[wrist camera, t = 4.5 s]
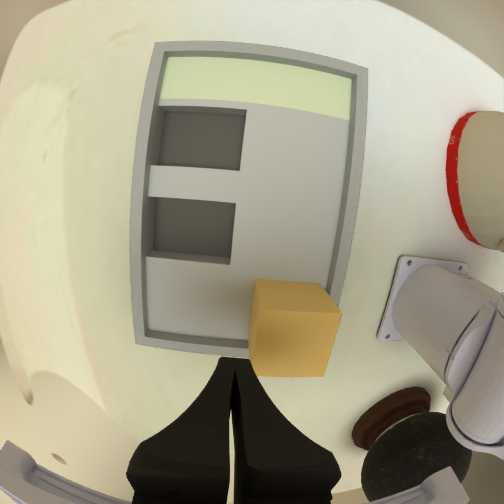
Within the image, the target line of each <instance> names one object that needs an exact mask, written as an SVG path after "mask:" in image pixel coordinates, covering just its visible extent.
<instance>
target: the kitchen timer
mask: <svg viewBox="0 0 504 504" xmlns="http://www.w3.org/2000/svg"><path fill="white" fill-rule="evenodd" d="M446 178H447V191H448V196H449V200H450V204H451V209H452V213H453V215H454V217H455V219H456V222H457V224H458V226H459V229H460V230H461V231H462V232H463V233H464V235H465V236H466V237H467V238H468V239H469V240H470V241H472V242H474V243H476V244H478V245H481V246H483V247H486V248H489V249H493V250H500V251H501V252H504V113H502V112H497V111H477V112H471V113H467V114H466V115H465V116H463V117H462V118H460V119H459V120H458V122H457V123H456V125H455V127H454V129H453V130H452V132H451V136H450V140H449V144H448V148H447V160H446Z"/></svg>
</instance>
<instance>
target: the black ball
mask: <svg viewBox="0 0 504 504" xmlns="http://www.w3.org/2000/svg"><path fill="white" fill-rule="evenodd" d="M430 400H431V398H430V395H429V394H428V393H427V391H426V390H425V389H423V388H421V387H410V388H406V389H403V390H400V391H397V392H395V393H393V394H391V395H389V396H387V397H385V398H384V399H382V400H381V401H379V402H378V403H376V404H375V405H373V406H372V407H371V408H370V409H368V410H367V411H366V412H365V413H364V414H363V415H362V416H361V417H360V419H359V420H358V421H357V422H356V424H355V426H354V427H353V430H352V438H353V441H354V443H355V445H356V446H358V447H360V448H363V449H365V450H369V451H368V453H367V455H366V457H365V459H364V463H363V467H362V472H361V483H362V488H363V491H364V493H365V495H366V497H367V499H368V500H369V502H372V501H375V500H379V499H382V498H385V497H388V496H391V495H394V494H397V493H400V492H403V491H406V490H408V489H411V488H413V487H416V486H418V485H421V484H422V483H423V481H424V480H425V479H427V478H428V477H429V476H431V475H432V474H434V473H436V472H438V471H441V470H443V469H445V468H447V467H449V466H451V468H452V470H453V471H454V473H455V475H456V476H457V478H458V480H459V481H460V483H461V482H462V481H463V480H464V478H465V476H466V473H467V471H468V469H469V465H470V461H471V457H472V450H470V449H468V448H466V447H464V446H463V445H461V444H460V443H459V442H458V441H457V440H456V439H455V438H454V437H453V435H452V434H451V432H450V430H449V428H448V426H447V422H446V414H443V413H439V412H429V410H430Z"/></svg>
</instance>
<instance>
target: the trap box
mask: <svg viewBox="0 0 504 504" xmlns="http://www.w3.org/2000/svg"><path fill="white" fill-rule="evenodd" d="M367 103H368V68H365V67H362V66H359V65H356V64H352V63H349V62H345V61H342V60H338V59H335V58H331V57H327V56H323V55H318V54H314V53H309V52H304V51H299V50H294V49H288V48H282V47H276V46H269V45H261V44H252V43H241V42H225V41H171V42H156V43H155V45H154V49H153V53H152V57H151V61H150V65H149V70H148V74H147V79H146V83H145V88H144V94H143V99H142V105H141V110H140V117H139V123H138V130H137V137H136V146H135V154H134V164H133V175H132V189H131V207H130V282H131V300H132V314H133V325H134V335H135V344H139V345H144V346H150V347H156V348H163V349H170V350H177V351H184V352H192V353H201V354H210V355H220V356H232V357H246V358H249V345H248V332H249V324H250V316H251V308H252V299H253V291H254V283H255V278H257V279H268V280H280V281H293V282H306V283H320V284H321V285H322V287H323V288H324V289H325V291H326V292H327V293H328V295H329V296H330V297H331V299H332V300H333V302H334V303H335V304H336V306H337V307H338V305H339V301H340V296H341V292H342V288H343V283H344V279H345V274H346V269H347V265H348V260H349V255H350V249H351V244H352V239H353V233H354V227H355V221H356V215H357V208H358V201H359V194H360V186H361V178H362V169H363V160H364V149H365V137H366V123H367Z"/></svg>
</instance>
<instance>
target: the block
mask: <svg viewBox="0 0 504 504" xmlns="http://www.w3.org/2000/svg"><path fill="white" fill-rule="evenodd" d="M341 315H342V312H341V311H340V310H339V308H338V307H337V306H336V304H335V303H334V302H333V300H332V299H331V297H330V296H329V295H328V293H327V292H326V291H325V289H324V288H323V287H322V285H321V284H320V283H306V282H293V281H280V280H268V279H257V278H255V283H254V291H253V299H252V308H251V316H250V324H249V332H248V345H249V360H250V361H251V364H252V367H253V369H254V371H255V374H256V376H268V377H322V376H324V373H325V370H326V367H327V364H328V360H329V357H330V354H331V351H332V347H333V344H334V341H335V337H336V334H337V330H338V327H339V323H340V319H341Z"/></svg>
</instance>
